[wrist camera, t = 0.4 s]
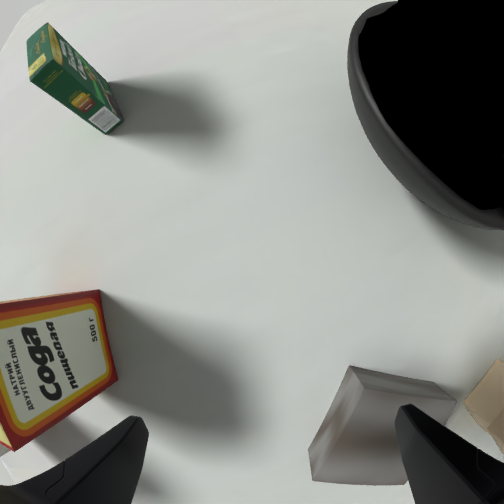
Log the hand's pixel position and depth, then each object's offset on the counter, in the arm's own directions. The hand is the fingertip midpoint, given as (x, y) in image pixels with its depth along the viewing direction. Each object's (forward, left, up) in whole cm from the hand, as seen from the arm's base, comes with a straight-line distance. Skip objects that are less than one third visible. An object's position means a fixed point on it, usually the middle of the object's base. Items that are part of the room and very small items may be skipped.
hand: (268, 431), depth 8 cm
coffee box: (+10, +27, -16) cm, 33 cm away
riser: (-3, -14, -15) cm, 21 cm away
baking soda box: (-12, +15, -16) cm, 25 cm away
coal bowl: (+23, -4, -16) cm, 28 cm away
